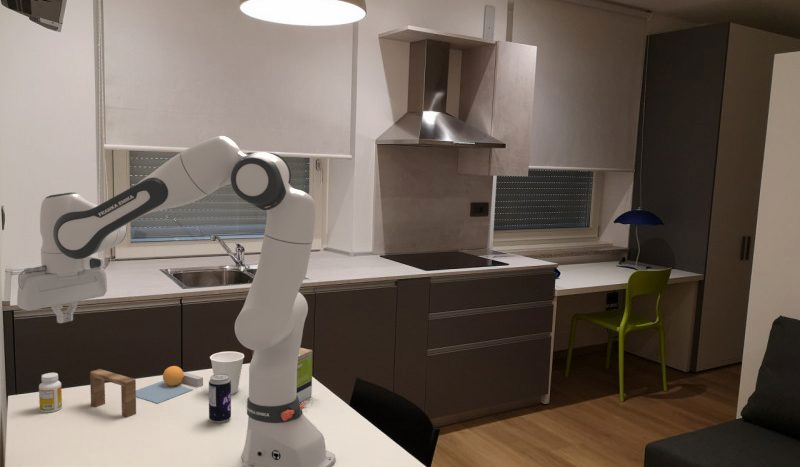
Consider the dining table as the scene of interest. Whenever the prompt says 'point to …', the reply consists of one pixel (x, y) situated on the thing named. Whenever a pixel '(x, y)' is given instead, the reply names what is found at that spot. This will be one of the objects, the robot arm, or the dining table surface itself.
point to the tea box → (303, 374)
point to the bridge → (126, 383)
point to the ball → (173, 376)
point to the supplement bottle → (50, 393)
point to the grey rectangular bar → (192, 380)
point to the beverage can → (219, 398)
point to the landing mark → (160, 392)
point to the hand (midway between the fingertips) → (65, 321)
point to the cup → (228, 366)
